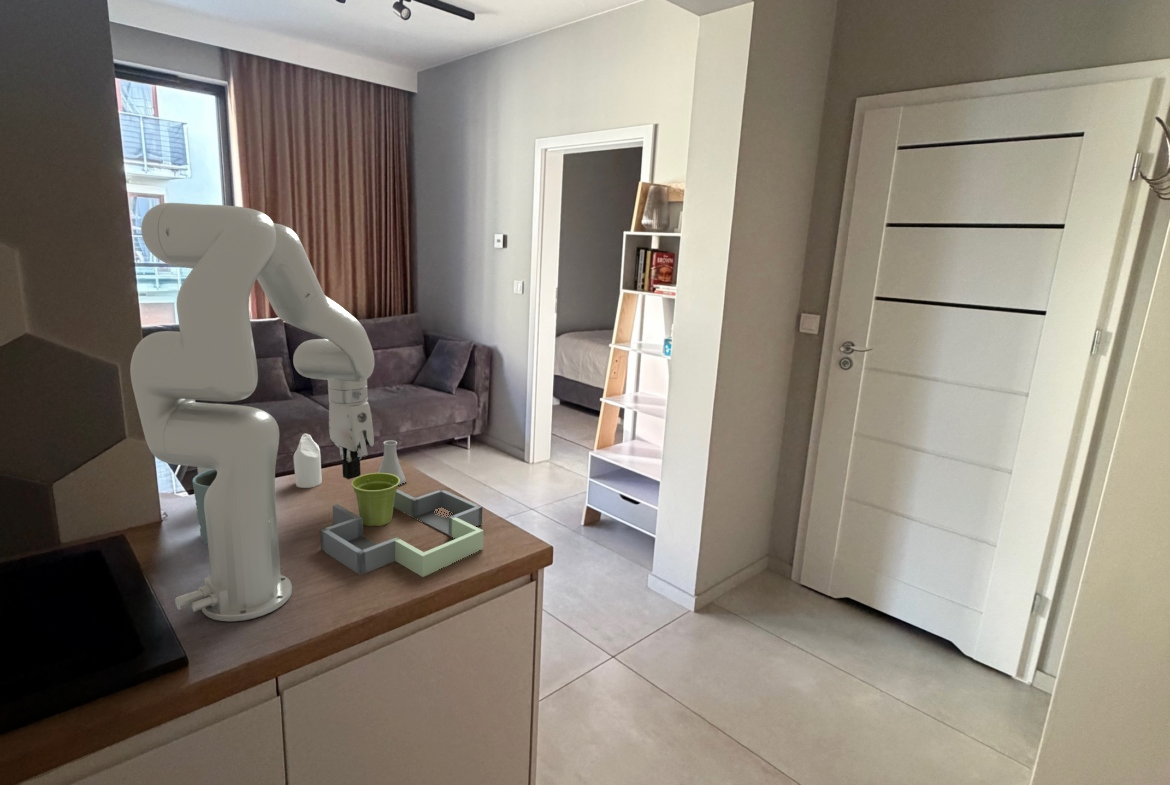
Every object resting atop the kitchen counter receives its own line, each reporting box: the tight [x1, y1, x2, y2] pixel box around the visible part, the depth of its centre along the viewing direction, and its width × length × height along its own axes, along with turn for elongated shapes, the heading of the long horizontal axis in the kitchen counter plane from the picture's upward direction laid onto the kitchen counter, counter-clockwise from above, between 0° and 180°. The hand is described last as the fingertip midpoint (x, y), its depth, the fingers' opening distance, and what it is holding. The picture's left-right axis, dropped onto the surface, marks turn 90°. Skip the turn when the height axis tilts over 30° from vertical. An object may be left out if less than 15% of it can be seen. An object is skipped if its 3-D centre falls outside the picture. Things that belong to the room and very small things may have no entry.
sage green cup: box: [192, 469, 217, 546], centre depth 116 cm, size 10×10×12 cm
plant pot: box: [351, 472, 400, 527], centre depth 126 cm, size 9×9×9 cm
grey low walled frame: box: [319, 488, 484, 578], centre depth 120 cm, size 28×29×4 cm
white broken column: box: [293, 433, 323, 489], centre depth 142 cm, size 6×12×6 cm
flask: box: [377, 440, 407, 486], centre depth 146 cm, size 7×7×10 cm
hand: (351, 476), depth 132 cm, fingers closed
